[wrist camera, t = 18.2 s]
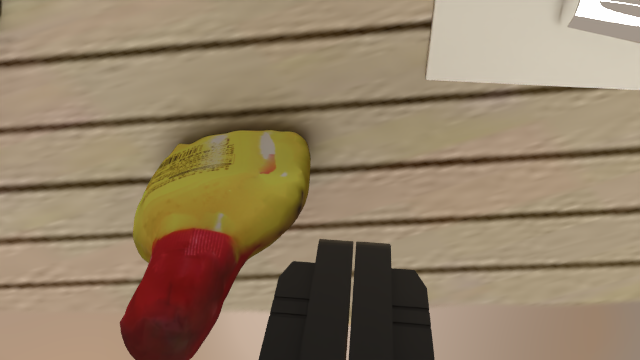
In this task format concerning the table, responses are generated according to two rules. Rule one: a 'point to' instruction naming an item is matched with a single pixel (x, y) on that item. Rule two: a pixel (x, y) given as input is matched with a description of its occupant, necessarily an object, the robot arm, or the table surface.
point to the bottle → (208, 232)
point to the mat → (523, 47)
